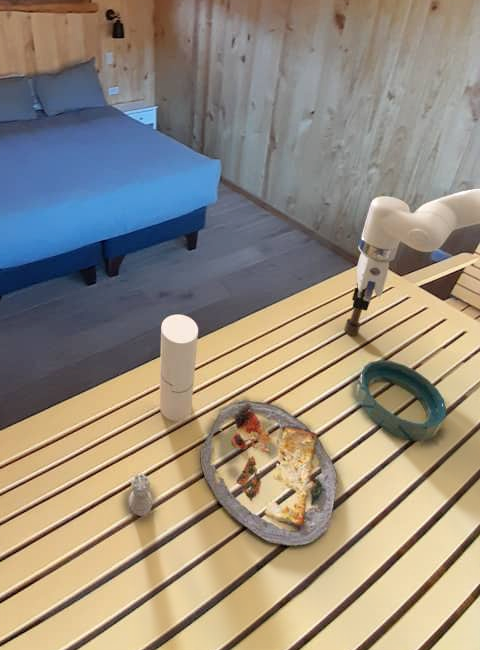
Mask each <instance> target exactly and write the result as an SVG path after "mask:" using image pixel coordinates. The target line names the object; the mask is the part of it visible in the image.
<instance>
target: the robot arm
mask: <svg viewBox="0 0 480 650" xmlns="http://www.w3.org/2000/svg"><path fill="white" fill-rule="evenodd" d="M479 224H480V188H474V189H468V190H463V191H460V192H459V191H458V192H456V193H453V194H449V195H446V196H442V197H439V198H437V199H433V200H431V201H428V202H426V203H424V204H422V205H421V206H419V207H418V208H417V209H416V210H415V211H414V212H411V209H410V206H409V204H407V203H406V202H405V201H403V200H402V199H400V198H397V197H393V196H387V195H382V196H377V197H375V198H373V199H372V201H371V202H370V205H369V208H368V211H367V215H366V218H365V222H364V225H363V230H362V232H361V237H360V239H359V243H358V247H357V248H358V250H359V252H360V254H359V258H358V261H357V265H356V281H357V282H356V287H355V288H354V290H353V295H352V298H351V299H352V301H353V302H352V307H353V309H354V308H357V309H361V310H362V311H368V309H369V306H370V303H371V301H372V296H373V293H374V294H375V296H376V297H378V298H379V297H381V296H382V295H383V293H384V292H383V291H384V287H385V284H386V281H387V276H388V272H389V268H390V262H391V261H393V260H394V259H395V257H396V255H397V251H398V249H399V245H400V242H401V243H403V244H404V245H406V246H408V247H409V248H411V249H414V250H415V251H419V252H422V253H431V252H435V251H437V250H439V249H440V248H441V247H442V246H443V245H444V243H445V242H446V241H447V239H448V238H449V236H450V235H451V234H452V232H453V231H455V230H458V229H462V228H466V227H470V226H475V225H479ZM363 291H365V293H363Z"/></svg>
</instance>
